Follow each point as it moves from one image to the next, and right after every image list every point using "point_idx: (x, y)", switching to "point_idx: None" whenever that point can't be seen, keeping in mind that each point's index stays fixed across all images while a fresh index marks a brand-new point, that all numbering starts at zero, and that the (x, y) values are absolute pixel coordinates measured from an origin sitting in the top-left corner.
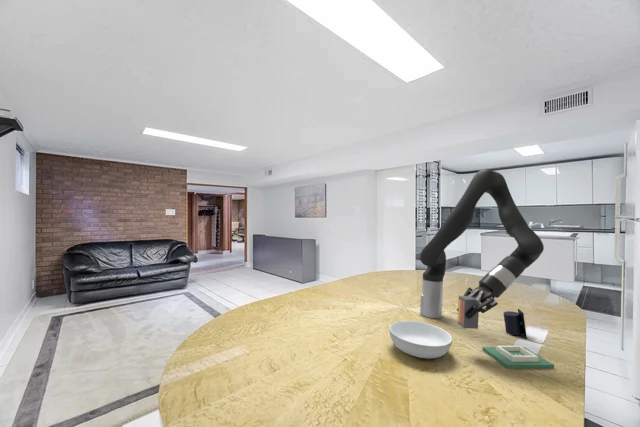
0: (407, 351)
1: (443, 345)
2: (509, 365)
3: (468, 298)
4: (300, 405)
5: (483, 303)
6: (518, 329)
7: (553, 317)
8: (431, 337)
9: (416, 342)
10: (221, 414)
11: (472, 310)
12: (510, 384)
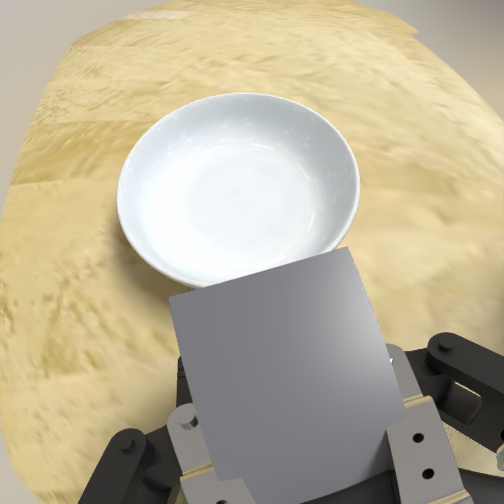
0: (163, 158)
1: (125, 234)
2: (181, 490)
3: (248, 370)
4: (62, 86)
5: (107, 500)
6: None
7: None
8: (314, 243)
9: (282, 199)
10: (67, 56)
11: (185, 394)
12: (89, 433)
